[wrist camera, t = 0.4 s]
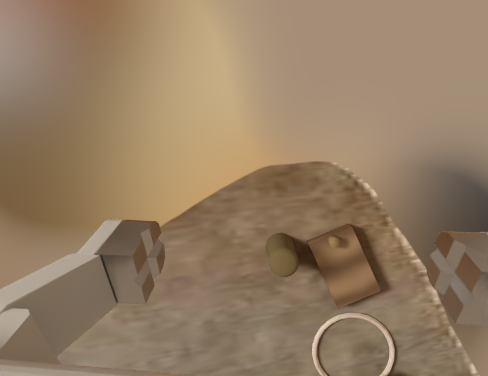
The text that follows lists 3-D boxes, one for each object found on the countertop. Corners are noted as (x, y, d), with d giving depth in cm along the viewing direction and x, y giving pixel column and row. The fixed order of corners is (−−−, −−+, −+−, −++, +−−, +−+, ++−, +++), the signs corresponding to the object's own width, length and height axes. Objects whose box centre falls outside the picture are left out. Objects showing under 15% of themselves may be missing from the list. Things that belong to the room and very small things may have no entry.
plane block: (375, 284, 59) (385, 295, 54) (334, 301, 60) (340, 313, 55) (347, 223, 59) (355, 228, 54) (306, 241, 59) (310, 247, 54)
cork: (296, 234, 59) (304, 249, 49) (293, 262, 60) (300, 283, 49) (267, 231, 60) (268, 245, 49) (264, 260, 60) (265, 280, 49)
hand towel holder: (369, 305, 56) (432, 388, 56) (361, 295, 60) (419, 373, 60) (298, 353, 57) (360, 435, 57) (295, 340, 61) (353, 416, 62)
